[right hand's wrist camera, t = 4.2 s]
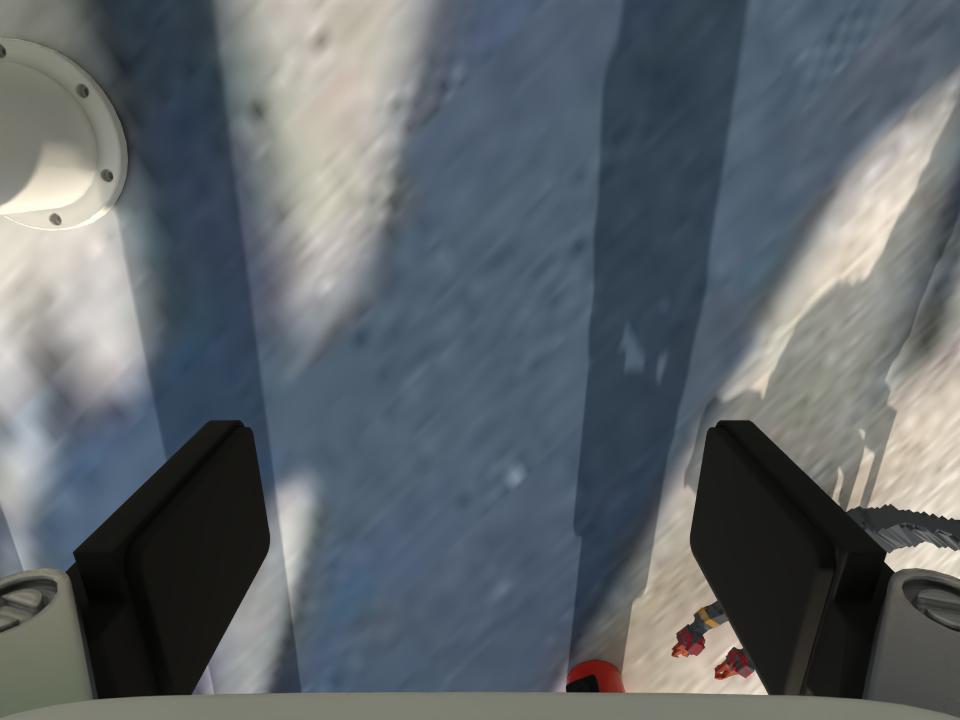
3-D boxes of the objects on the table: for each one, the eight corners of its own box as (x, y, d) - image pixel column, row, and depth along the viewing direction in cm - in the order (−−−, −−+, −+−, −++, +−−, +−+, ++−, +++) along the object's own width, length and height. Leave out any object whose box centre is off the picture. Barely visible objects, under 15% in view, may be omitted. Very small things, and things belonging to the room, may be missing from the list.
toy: (940, 494, 50) (1184, 671, 32) (729, 667, 57) (836, 886, 40) (842, 415, 47) (1052, 565, 30) (634, 609, 54) (706, 817, 37)
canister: (565, 700, 59) (577, 774, 52) (567, 660, 57) (580, 732, 50) (619, 699, 59) (638, 773, 52) (622, 659, 57) (643, 731, 50)
